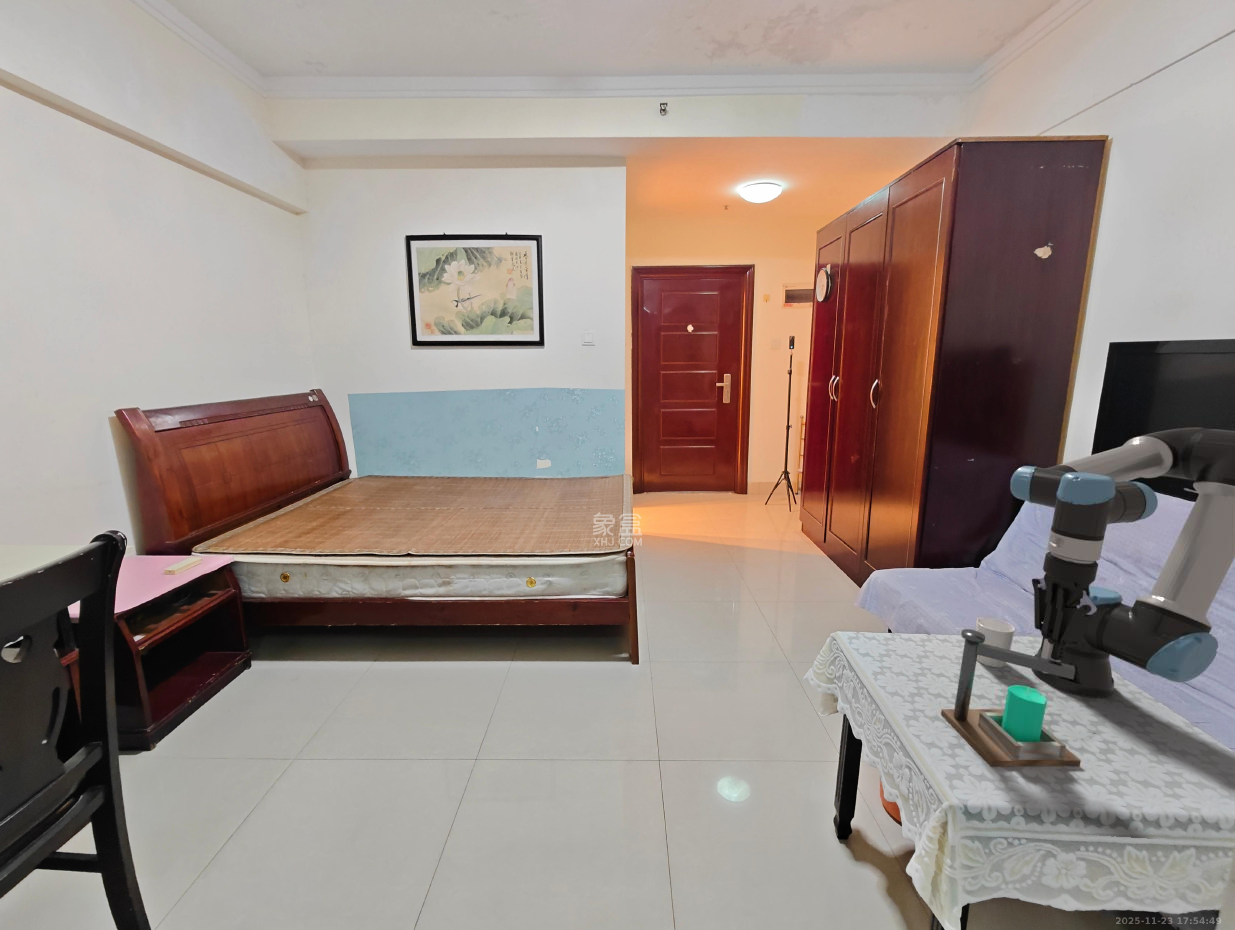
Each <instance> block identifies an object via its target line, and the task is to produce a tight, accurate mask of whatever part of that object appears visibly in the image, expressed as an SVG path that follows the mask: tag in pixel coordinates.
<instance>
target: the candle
mask: <svg viewBox="0 0 1235 930" xmlns="http://www.w3.org/2000/svg"><path fill="white" fill-rule="evenodd" d="M1047 702H1048V699H1047V698H1046V697H1045V696H1044V695H1043V694H1042V693H1041V692H1040V691H1039V690H1038V689H1036V688H1034V687H1033V688H1032V687H1030V686H1026V685H1020V684H1015V685H1010V686H1009V687H1008V688H1007V692H1006V698H1005V704H1004V714H1003V720H1002V726H1001V728H1002V729H1003V730H1004V731H1006V732H1007V733H1008V734H1009V735H1010V736H1011V737H1012V738H1013V739H1014V740H1015V741H1016V742H1039V740H1040V734H1041V729H1042V726H1043V724H1044V718H1045V712H1046V707H1047Z"/></svg>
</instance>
